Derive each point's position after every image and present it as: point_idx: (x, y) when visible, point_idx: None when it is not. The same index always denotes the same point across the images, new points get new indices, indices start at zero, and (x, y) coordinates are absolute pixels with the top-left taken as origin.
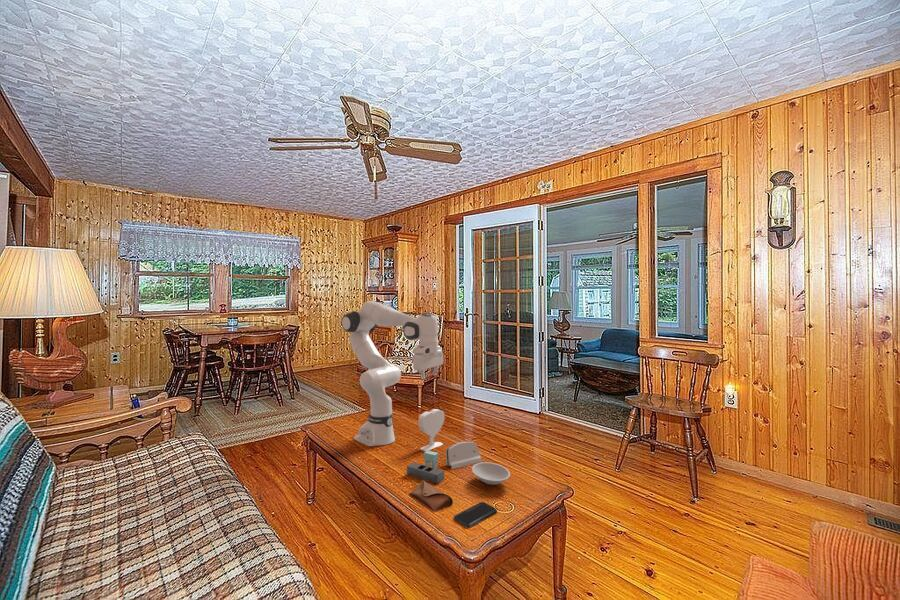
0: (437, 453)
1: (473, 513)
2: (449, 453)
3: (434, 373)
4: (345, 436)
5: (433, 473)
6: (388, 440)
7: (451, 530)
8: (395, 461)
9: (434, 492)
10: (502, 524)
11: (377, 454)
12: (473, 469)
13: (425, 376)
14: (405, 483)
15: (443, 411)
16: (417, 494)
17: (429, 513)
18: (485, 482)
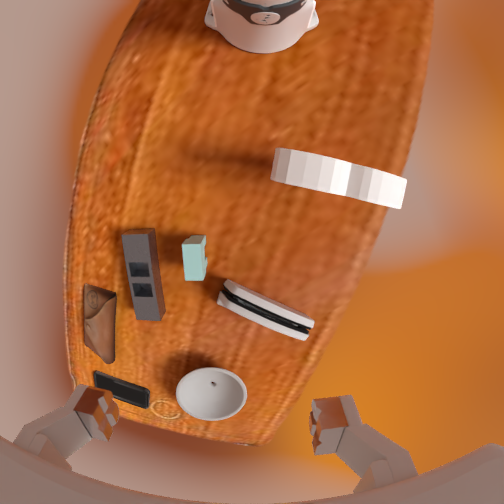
0: (199, 280)
1: (118, 389)
2: (223, 304)
3: (314, 430)
4: None
5: (136, 308)
6: (251, 46)
7: (80, 375)
8: (165, 151)
9: (94, 341)
10: (132, 414)
11: (173, 77)
12: (194, 373)
13: (105, 429)
14: (102, 253)
15: (398, 208)
16: (84, 308)
17: (78, 340)
18: (187, 388)
